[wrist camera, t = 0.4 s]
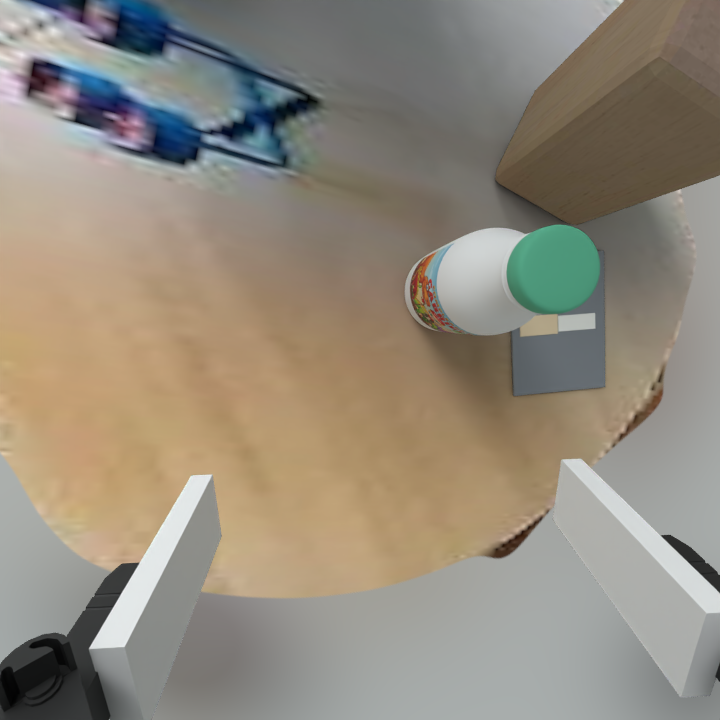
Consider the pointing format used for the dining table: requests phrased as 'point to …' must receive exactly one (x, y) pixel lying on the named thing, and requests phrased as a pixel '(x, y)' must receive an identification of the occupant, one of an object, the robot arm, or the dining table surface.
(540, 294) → the milk bottle
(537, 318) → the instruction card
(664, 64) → the wooden block
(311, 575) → the dining table surface
